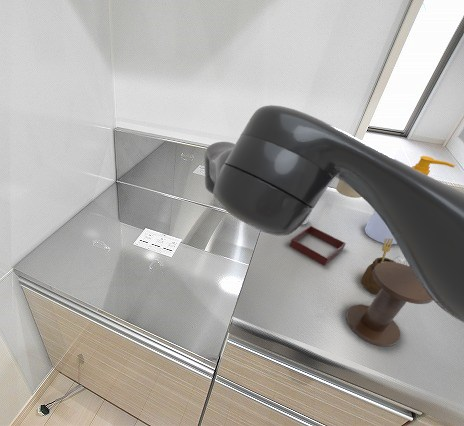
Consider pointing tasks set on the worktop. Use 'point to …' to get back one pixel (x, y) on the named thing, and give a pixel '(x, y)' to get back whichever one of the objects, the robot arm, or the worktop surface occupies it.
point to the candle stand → (386, 304)
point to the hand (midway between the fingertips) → (375, 158)
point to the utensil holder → (367, 277)
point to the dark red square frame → (312, 253)
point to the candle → (346, 190)
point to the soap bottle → (376, 224)
